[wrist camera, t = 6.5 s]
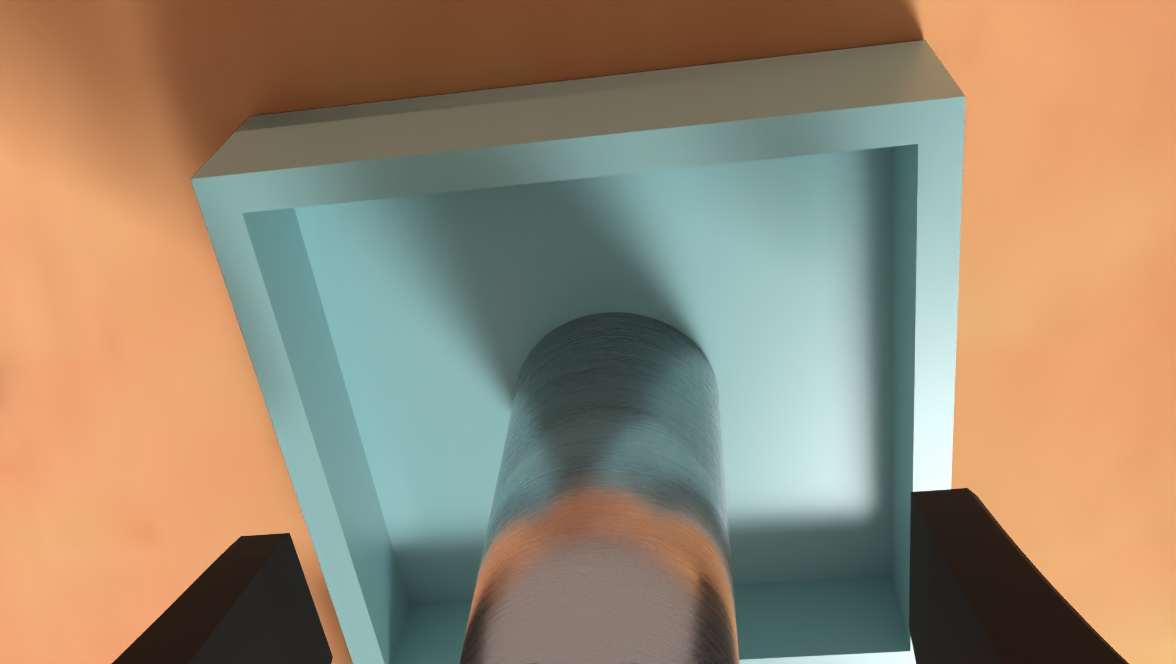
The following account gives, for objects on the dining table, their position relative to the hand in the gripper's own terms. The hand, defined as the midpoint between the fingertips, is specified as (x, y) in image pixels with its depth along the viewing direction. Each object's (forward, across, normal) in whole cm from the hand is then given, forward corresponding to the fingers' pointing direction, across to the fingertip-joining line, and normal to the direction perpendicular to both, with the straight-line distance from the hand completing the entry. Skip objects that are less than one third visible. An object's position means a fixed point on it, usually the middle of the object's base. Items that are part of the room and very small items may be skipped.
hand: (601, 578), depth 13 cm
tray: (+5, 0, 0) cm, 5 cm away
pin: (+4, 0, 0) cm, 4 cm away
